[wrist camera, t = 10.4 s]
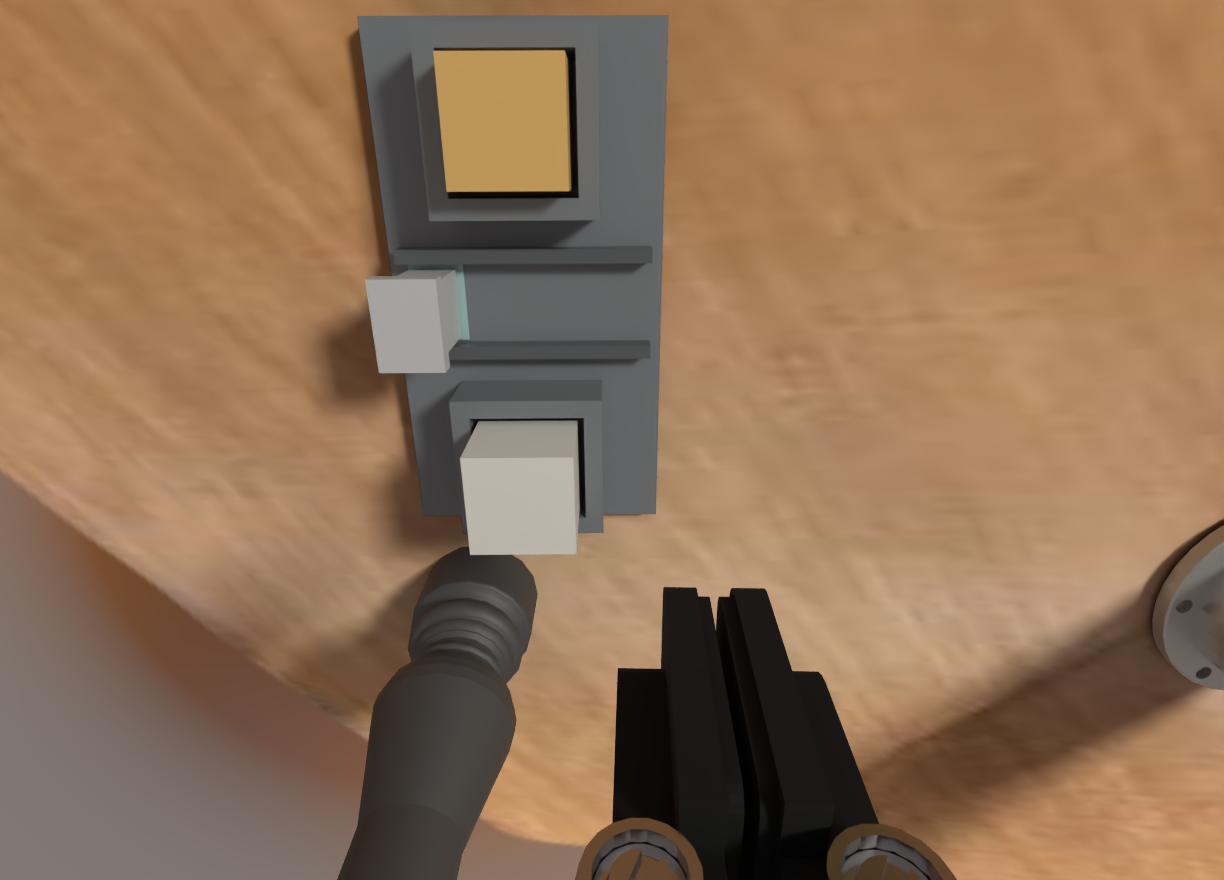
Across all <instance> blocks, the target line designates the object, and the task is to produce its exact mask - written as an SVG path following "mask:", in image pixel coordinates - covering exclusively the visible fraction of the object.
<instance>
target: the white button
mask: <svg viewBox="0 0 1224 880" xmlns="http://www.w3.org/2000/svg"><path fill="white" fill-rule="evenodd" d="M460 463H461V473H462V482H463V492H464V501H465V511H466V521H467V530H468V540H469V549H470V555H524V554H576V550H577V537H578V524H579V511H580V496H579V458H578V421H577V420H569V421H478V423H477V425H476V427H475V429H474V431H473V433H472V435H471V437H470V439H469V441H468V443H467V445H466V447H465V449H464V451H463V453H462V455H461V457H460Z"/></svg>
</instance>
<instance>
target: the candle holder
mask: <svg viewBox="0 0 1224 880" xmlns="http://www.w3.org/2000/svg"><path fill="white" fill-rule="evenodd" d="M536 600H537V590H536V586H535V581H534V577H533V575H532V574H531V573H530V572H529V570H528V569H527V568H526V566H525V565H524V564H523V562H522V561H521V560H519V559H517V558H516V557H514V556H512V555H470V549H469V547H463V548H459V549H457V550H455V551H453V552H451V553H449V554H447V555H446V556H444V557H442V558H441V559H440V561H439V562H438V563H437V565H436V566H435V567H434V568H433V570H432V571H431V572H430V575H429V577H428V579H427V582H426V584H425V586H424V589H423V591H422V593H421V595H420V598H419V600H418V602H417V605H416V607H415V610H414V616H413V621H412V627H411V634H410V640H409V645H408V651H409V654H410V657H411V660H412V662H411V663H409V664H407V665H406V666H404V667H402V668H401V669H399V670H398V671H397V672H396V674H395V675H394V676H393V677H392V678H391V680H390V681H389V682H388V683H387V685H386V686H385V687H384V688H383V690H382V691H381V692H380V693H379V695H378V697H377V699H376V701H375V704H374V707H373V713H372V720H371V726H370V734H369V742H368V750H367V758H366V766H365V774H364V781H363V788H362V796H361V804H360V811H359V819H358V826H357V829H356V831H355V834H354V837H353V839H352V842H351V845H350V847H349V850H348V853H347V855H346V858H345V860H344V863H343V866H342V869H341V871H340V874H339V876H338V879H337V880H457V875H458V871H459V866H460V861H461V857H462V853H463V851H464V849H465V847H466V844H467V842H468V840H469V838H470V836H471V833H472V831H473V829H474V827H475V825H476V822H477V820H478V818H479V816H480V814H481V811H482V809H483V807H484V805H485V803H486V800H487V798H488V796H489V794H490V792H491V789H492V787H493V785H494V783H495V781H496V779H497V777H498V774H499V772H500V770H501V768H502V766H503V764H504V762H505V759H506V757H507V755H508V753H509V750H510V747H511V743H512V739H513V736H514V732H515V726H516V715H515V709H514V706H513V702H512V698H511V694H510V690H509V689H508V687H507V685H506V683H507V682H508V681H509V680H510V679H511V678H512V677H513V676H514V674H515V673H516V672H517V671H518V670H519V666H520V662H521V658H522V655H523V654H524V653H525V652H526V651H527V647H528V643H529V639H530V635H531V631H532V625H533V619H534V613H535V606H536Z"/></svg>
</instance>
